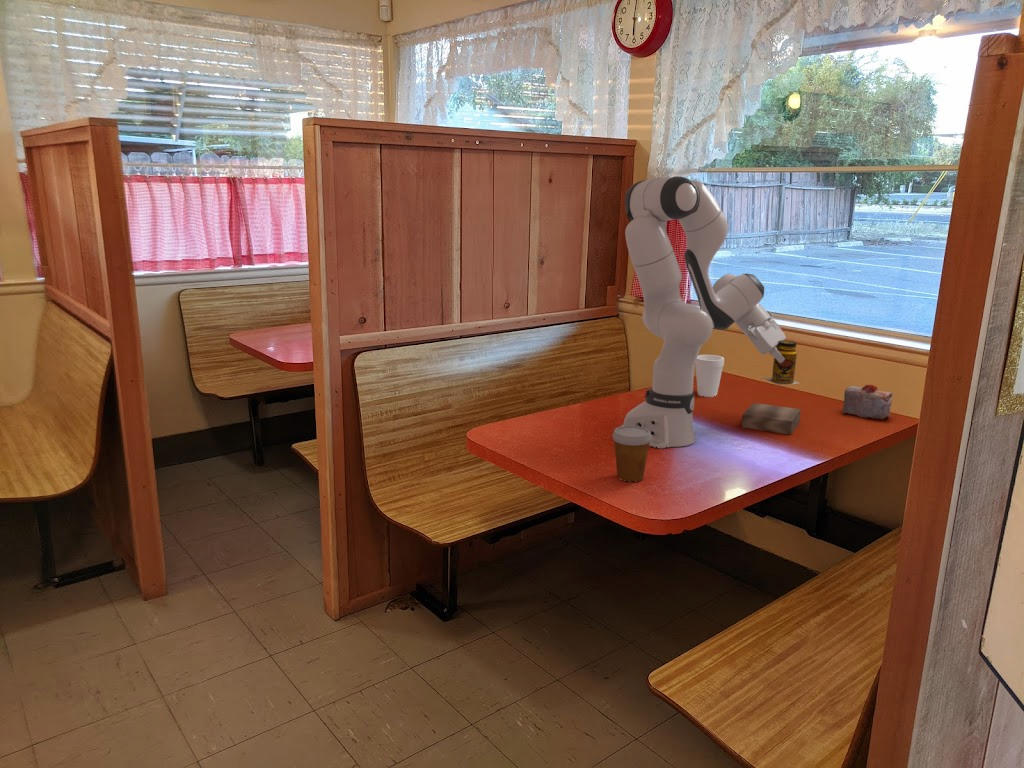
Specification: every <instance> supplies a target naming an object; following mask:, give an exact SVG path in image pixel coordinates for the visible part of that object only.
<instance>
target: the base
mask: <svg viewBox="0 0 1024 768" xmlns="http://www.w3.org/2000/svg"><path fill="white" fill-rule="evenodd" d="M801 412H802V409H801V408H793V407H787V406H779V405H772V404H764V403H759V402H758V403H756V402H753V403H752V404H751V405H750V406H749V407H747V409H746V410H745V411H744V412H743V413H742V417H741V419H742V420H741V428H744V429H751V430H756V431H757V430H758V431H764V432H770V433H776V434H785V435H790V436H791V435H792V434H793V433H794V431H795V429H796V428H797V427H798V426H799V424H800V422H801Z"/></svg>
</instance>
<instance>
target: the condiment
mask: <svg viewBox="0 0 1024 768" xmlns="http://www.w3.org/2000/svg"><path fill="white" fill-rule="evenodd" d="M775 347H776V346H775ZM776 348H777V350H778V351H779V352H780V354H781V355H783V356H784V357H785V360H784V361H783V362H781V363H779V362H778V361H777V359H775V358H774V357H773V366H772V376H771V377H762V379H764V380H766V381H769V382H771V383H773V384H776V385H778V386H780V385H781V386H782V385H786V386H787V385H797V384H800V382H799V381H798V382H797V381H796V380H795V374H796V373H795V371H796V364H797V342H796V341H793V340H786V339H785V340H781V341H778V345H777V347H776Z"/></svg>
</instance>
